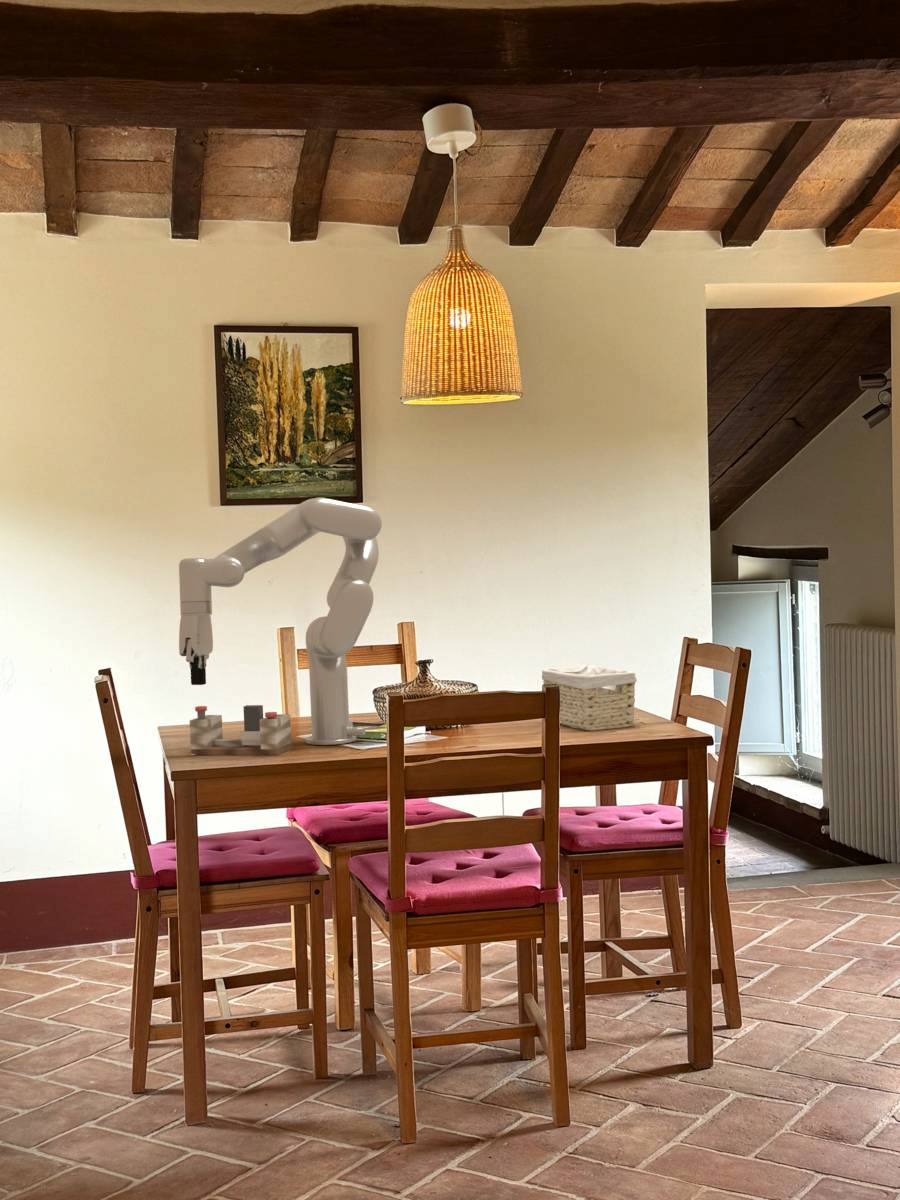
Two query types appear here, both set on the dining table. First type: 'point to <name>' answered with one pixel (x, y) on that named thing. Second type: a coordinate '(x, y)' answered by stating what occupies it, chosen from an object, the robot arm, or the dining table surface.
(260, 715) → the carriage
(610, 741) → the dining table surface
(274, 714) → the red knob cap
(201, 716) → the red rounded knob
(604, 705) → the storage basket
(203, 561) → the robot arm
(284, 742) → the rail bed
